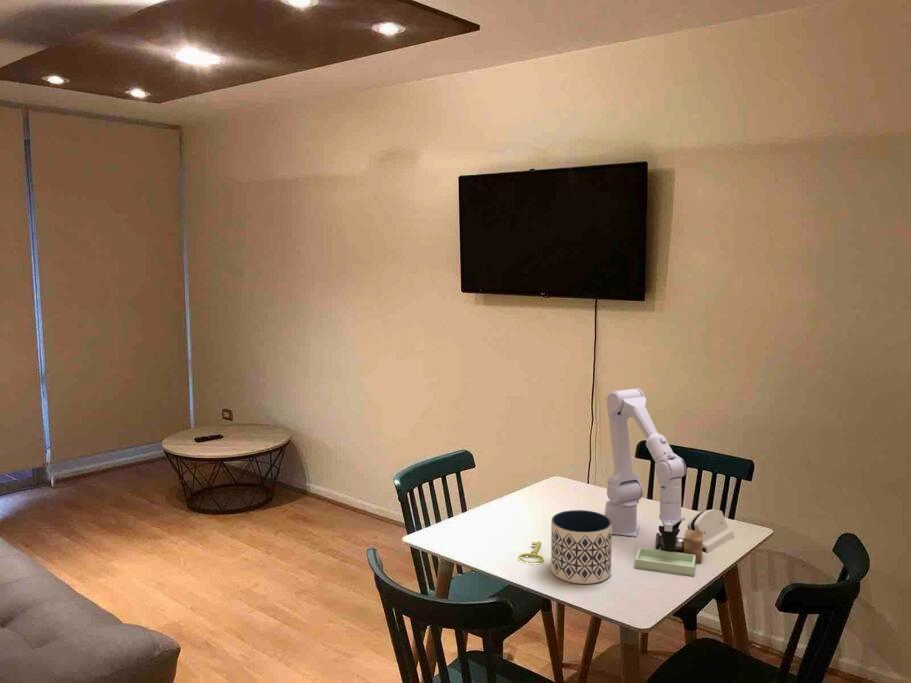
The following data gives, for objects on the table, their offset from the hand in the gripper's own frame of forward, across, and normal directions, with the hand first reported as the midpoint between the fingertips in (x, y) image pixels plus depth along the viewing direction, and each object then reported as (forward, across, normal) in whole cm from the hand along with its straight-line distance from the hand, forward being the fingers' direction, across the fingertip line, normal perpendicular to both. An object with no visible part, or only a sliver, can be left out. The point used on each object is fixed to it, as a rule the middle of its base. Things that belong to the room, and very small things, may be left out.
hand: (670, 547), depth 205 cm
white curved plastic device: (+3, +14, -10) cm, 17 cm away
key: (+3, -13, +36) cm, 38 cm away
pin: (+1, +1, -2) cm, 2 cm away
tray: (+2, -7, +1) cm, 8 cm away
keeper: (+2, +1, -2) cm, 3 cm away
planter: (+3, -18, +22) cm, 29 cm away
